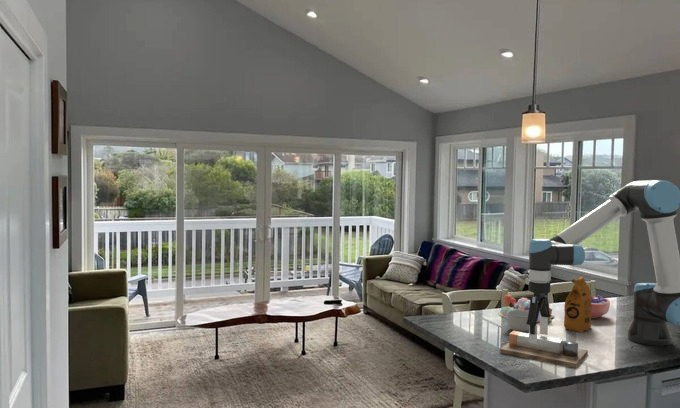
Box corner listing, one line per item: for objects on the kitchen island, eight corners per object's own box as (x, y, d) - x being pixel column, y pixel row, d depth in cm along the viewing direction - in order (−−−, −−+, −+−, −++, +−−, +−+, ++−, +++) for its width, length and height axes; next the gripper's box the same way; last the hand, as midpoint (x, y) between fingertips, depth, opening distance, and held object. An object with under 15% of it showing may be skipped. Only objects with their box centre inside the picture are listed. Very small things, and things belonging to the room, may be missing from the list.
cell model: (618, 317, 240) (619, 293, 240) (595, 324, 229) (596, 299, 228) (584, 310, 254) (584, 287, 254) (560, 316, 243) (561, 292, 242)
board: (587, 354, 187) (587, 350, 187) (576, 368, 173) (576, 363, 173) (516, 341, 203) (516, 337, 203) (500, 352, 188) (500, 348, 188)
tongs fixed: (579, 354, 183) (579, 342, 182) (575, 357, 179) (576, 345, 178) (513, 341, 197) (513, 330, 197) (508, 344, 193) (509, 333, 193)
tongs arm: (560, 352, 184) (561, 341, 184) (559, 354, 182) (559, 342, 182) (511, 342, 195) (511, 332, 194) (509, 344, 193) (509, 333, 193)
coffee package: (559, 328, 221) (560, 278, 220) (571, 323, 229) (572, 274, 229) (583, 333, 214) (584, 281, 213) (594, 328, 222) (595, 277, 221)
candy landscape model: (549, 312, 251) (550, 293, 250) (559, 325, 228) (559, 304, 227) (496, 309, 256) (497, 291, 256) (500, 321, 233) (500, 301, 233)
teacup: (535, 335, 211) (536, 316, 210) (508, 333, 213) (508, 314, 213) (530, 326, 224) (530, 308, 224) (504, 324, 226) (504, 306, 226)
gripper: (538, 275, 200) (537, 329, 201) (518, 284, 180) (517, 344, 181) (559, 277, 196) (557, 332, 196) (540, 287, 176) (539, 348, 176)
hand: (538, 338), depth 189 cm, fingers open, 13 cm apart
